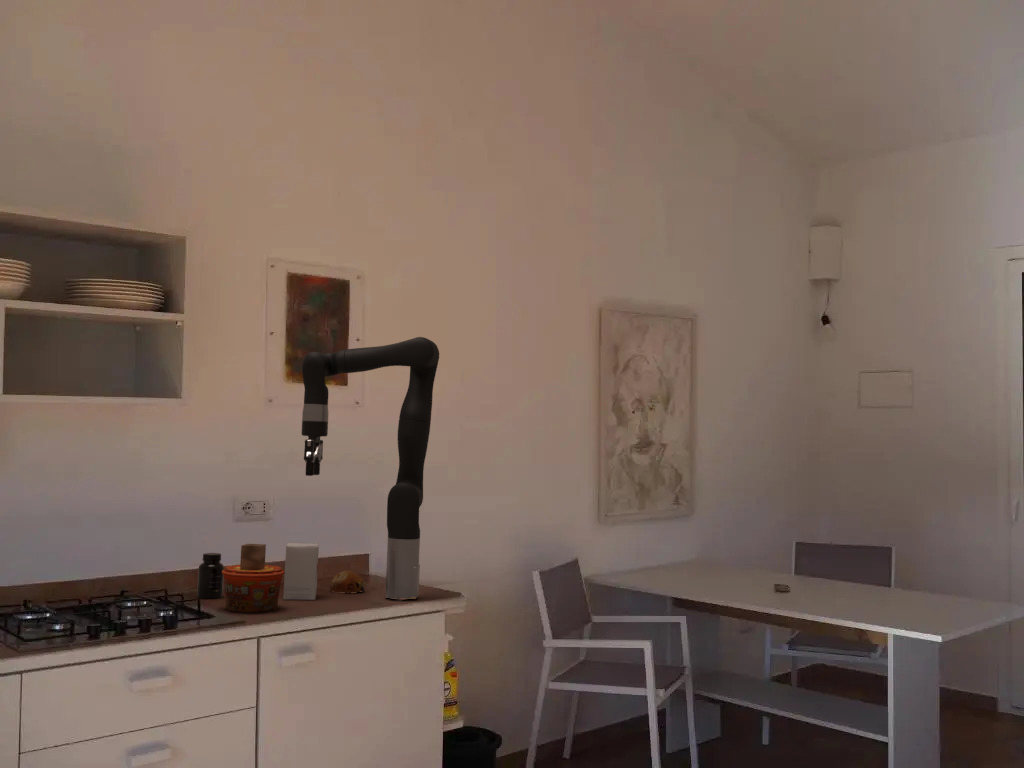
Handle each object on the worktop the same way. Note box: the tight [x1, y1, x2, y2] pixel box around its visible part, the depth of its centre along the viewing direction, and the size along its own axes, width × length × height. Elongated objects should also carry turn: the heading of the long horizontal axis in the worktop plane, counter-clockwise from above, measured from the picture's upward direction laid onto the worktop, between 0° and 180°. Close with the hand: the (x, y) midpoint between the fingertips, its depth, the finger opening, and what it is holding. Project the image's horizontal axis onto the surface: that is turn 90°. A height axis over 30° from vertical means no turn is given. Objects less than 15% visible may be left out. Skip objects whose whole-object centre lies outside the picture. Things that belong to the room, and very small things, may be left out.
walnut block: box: [239, 543, 267, 570], centre depth 259 cm, size 5×5×6 cm
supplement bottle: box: [196, 552, 225, 600], centre depth 275 cm, size 7×7×12 cm
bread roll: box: [329, 570, 366, 593], centre depth 294 cm, size 10×10×8 cm
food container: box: [222, 564, 285, 614], centre depth 259 cm, size 16×16×11 cm
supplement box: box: [282, 542, 320, 601], centre depth 280 cm, size 9×9×15 cm
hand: (312, 475), depth 290 cm, fingers open, 8 cm apart
